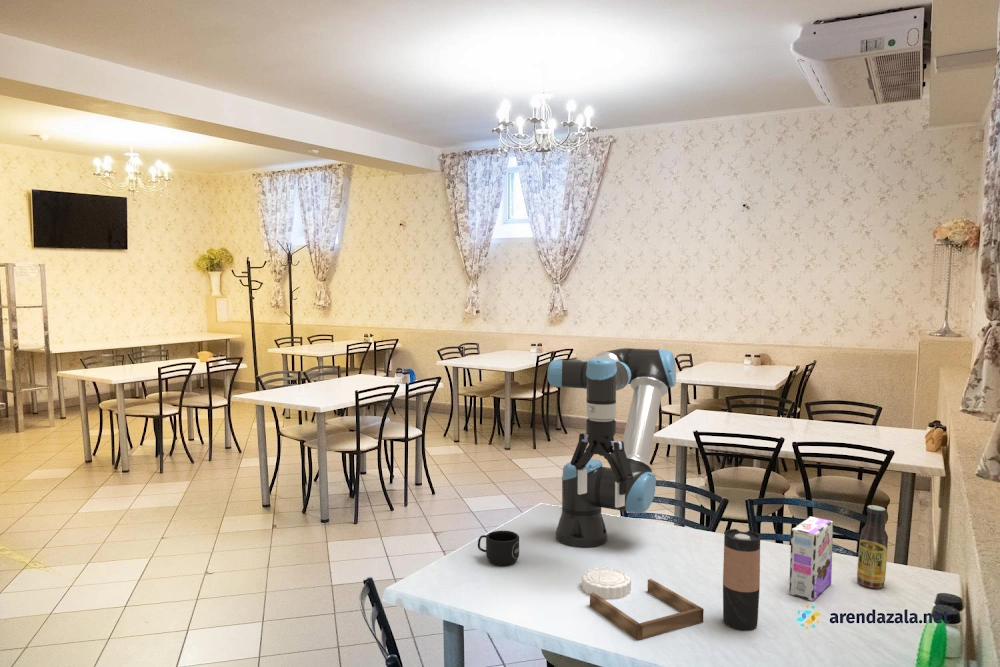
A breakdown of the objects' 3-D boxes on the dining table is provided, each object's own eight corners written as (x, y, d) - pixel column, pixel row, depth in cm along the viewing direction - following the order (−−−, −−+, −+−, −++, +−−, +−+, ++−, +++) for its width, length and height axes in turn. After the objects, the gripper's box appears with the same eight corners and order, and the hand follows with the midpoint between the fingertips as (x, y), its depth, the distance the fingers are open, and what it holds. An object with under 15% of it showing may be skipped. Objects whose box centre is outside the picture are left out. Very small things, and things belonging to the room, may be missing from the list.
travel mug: (739, 634, 147) (741, 542, 146) (714, 618, 154) (716, 531, 153) (766, 627, 150) (768, 537, 149) (741, 612, 157) (743, 526, 156)
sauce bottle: (853, 584, 172) (856, 507, 171) (860, 577, 177) (863, 501, 176) (882, 592, 168) (885, 512, 167) (889, 584, 172) (892, 507, 171)
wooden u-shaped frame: (589, 605, 160) (589, 593, 160) (650, 590, 168) (650, 578, 168) (638, 640, 144) (638, 626, 144) (703, 622, 152) (703, 608, 152)
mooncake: (631, 602, 163) (631, 587, 163) (580, 598, 165) (580, 583, 165) (630, 581, 175) (630, 567, 174) (583, 577, 177) (583, 564, 176)
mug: (524, 558, 189) (524, 533, 189) (511, 570, 181) (511, 543, 180) (484, 551, 194) (485, 526, 194) (470, 562, 186) (470, 537, 185)
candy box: (813, 602, 163) (815, 534, 162) (788, 594, 167) (790, 528, 166) (832, 584, 173) (834, 520, 172) (807, 577, 177) (809, 514, 176)
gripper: (557, 413, 184) (557, 490, 186) (627, 428, 164) (626, 515, 166) (578, 410, 189) (577, 486, 190) (648, 424, 169) (647, 509, 170)
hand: (600, 499), depth 178 cm, fingers open, 13 cm apart
